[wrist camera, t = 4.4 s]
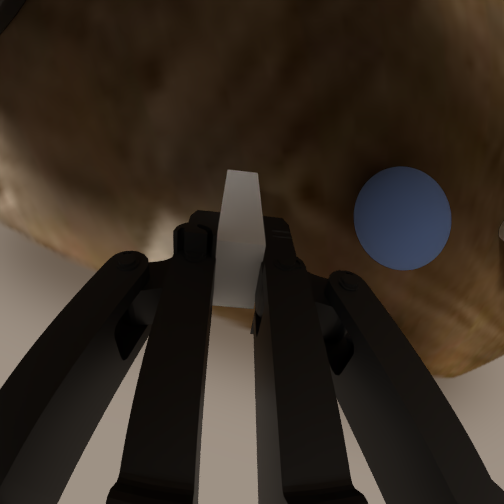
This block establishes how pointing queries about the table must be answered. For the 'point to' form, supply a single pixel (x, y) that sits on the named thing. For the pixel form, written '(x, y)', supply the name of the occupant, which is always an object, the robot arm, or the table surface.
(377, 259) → the ball
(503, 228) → the pin
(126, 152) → the table surface
